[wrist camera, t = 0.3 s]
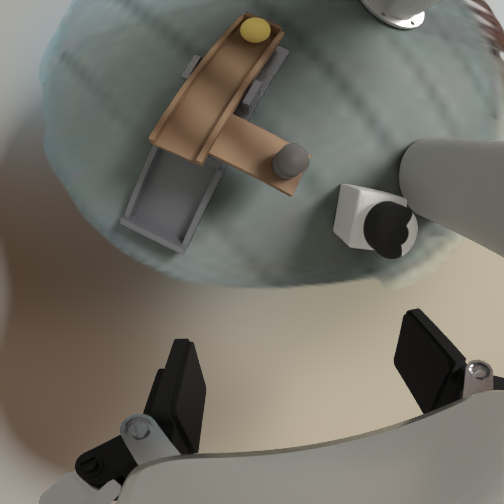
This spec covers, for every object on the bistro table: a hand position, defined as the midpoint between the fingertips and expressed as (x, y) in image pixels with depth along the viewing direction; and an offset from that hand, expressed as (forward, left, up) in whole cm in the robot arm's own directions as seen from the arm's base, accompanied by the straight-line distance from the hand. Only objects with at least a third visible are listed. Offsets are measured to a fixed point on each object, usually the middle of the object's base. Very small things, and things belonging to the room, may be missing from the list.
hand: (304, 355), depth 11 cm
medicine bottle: (-7, +12, -29) cm, 32 cm away
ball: (-20, -12, -23) cm, 33 cm away
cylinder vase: (-18, +20, -29) cm, 39 cm away
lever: (-12, -8, -23) cm, 27 cm away
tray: (+3, -12, -28) cm, 31 cm away
